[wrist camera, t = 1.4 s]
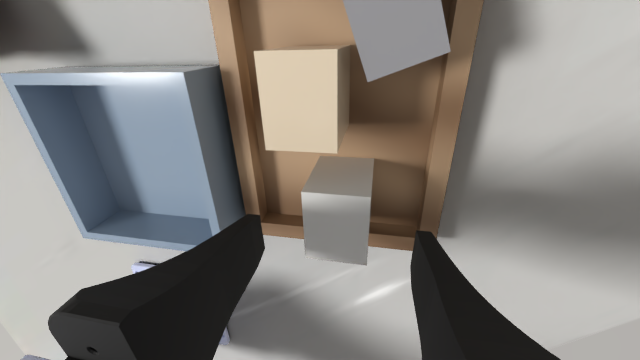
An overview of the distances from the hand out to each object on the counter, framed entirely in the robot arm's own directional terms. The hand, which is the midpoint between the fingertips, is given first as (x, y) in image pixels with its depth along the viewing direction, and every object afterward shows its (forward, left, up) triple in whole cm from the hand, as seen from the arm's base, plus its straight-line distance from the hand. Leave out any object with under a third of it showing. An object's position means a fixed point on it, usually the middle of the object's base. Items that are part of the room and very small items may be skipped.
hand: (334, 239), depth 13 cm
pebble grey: (0, 0, -5) cm, 5 cm away
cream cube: (+6, +2, -5) cm, 8 cm away
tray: (+4, +1, -6) cm, 7 cm away
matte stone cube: (+9, -2, -5) cm, 11 cm away
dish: (+1, +13, -6) cm, 14 cm away
